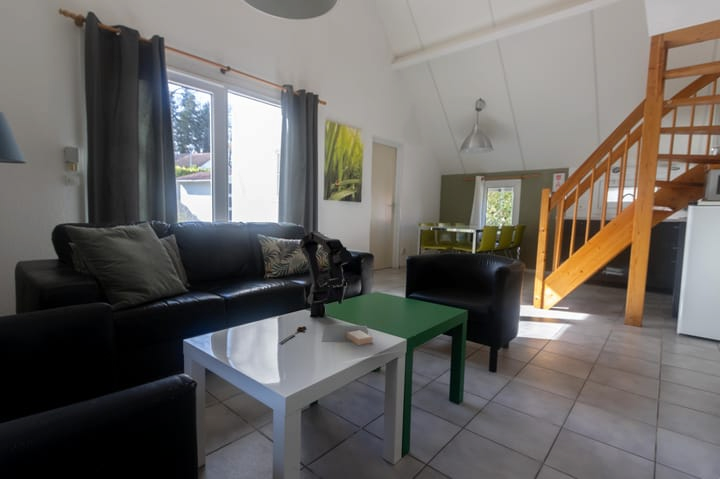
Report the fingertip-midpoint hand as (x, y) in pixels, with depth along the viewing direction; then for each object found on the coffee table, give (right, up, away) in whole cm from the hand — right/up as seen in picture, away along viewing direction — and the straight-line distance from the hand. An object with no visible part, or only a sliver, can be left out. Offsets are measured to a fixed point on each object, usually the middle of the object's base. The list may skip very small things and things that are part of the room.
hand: (340, 303), depth 149 cm
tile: (+6, -10, -10) cm, 15 cm away
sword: (-18, -12, -12) cm, 25 cm away
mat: (+3, -11, -6) cm, 13 cm away
